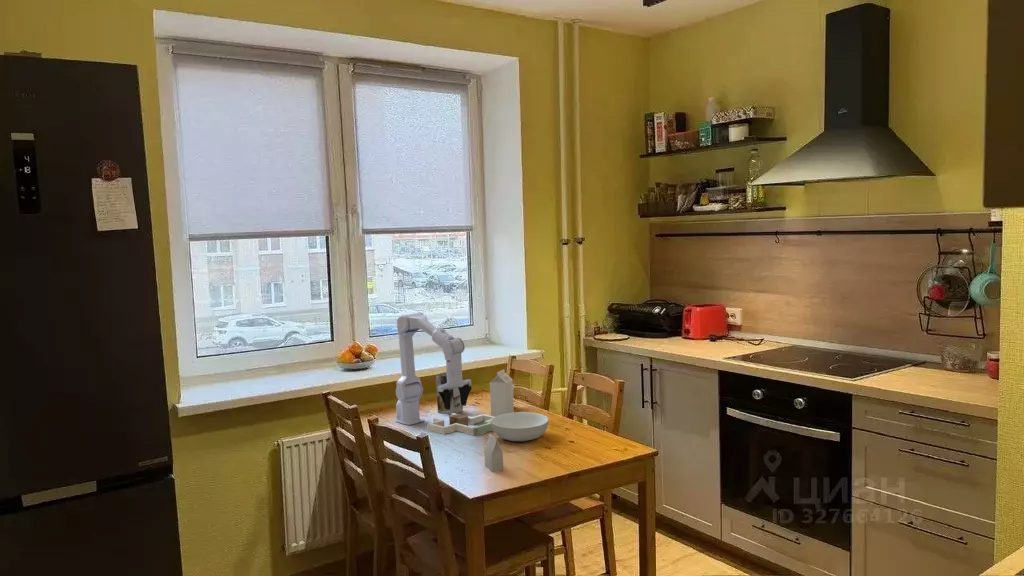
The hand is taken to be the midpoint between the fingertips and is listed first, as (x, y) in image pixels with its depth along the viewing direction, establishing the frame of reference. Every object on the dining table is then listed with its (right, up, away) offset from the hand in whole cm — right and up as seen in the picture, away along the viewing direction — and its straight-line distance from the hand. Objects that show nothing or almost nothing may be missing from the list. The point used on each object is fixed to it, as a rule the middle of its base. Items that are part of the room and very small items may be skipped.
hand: (455, 407), depth 264 cm
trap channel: (+3, -9, +10) cm, 13 cm away
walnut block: (0, -9, +12) cm, 15 cm away
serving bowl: (+24, -10, -7) cm, 27 cm away
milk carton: (+17, -8, +22) cm, 29 cm away
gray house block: (+15, -13, -39) cm, 44 cm away
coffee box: (-5, -8, +33) cm, 35 cm away
